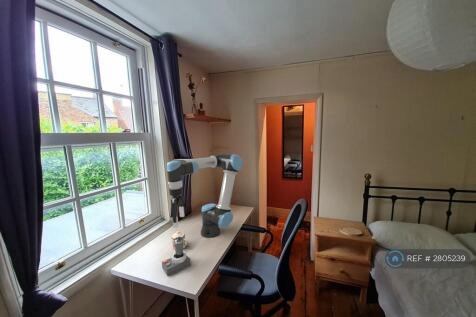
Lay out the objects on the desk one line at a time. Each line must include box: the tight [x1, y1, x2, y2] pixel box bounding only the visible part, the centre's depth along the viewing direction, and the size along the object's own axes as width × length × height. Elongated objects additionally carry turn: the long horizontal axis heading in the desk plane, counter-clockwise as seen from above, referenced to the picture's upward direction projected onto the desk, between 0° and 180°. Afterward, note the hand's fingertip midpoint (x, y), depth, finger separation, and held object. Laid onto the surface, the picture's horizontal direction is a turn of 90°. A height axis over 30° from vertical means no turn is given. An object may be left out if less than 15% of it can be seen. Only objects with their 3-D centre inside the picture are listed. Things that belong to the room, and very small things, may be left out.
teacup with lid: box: [171, 230, 189, 251], centre depth 135 cm, size 12×9×12 cm
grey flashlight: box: [174, 237, 184, 258], centre depth 117 cm, size 5×5×13 cm
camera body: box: [161, 250, 191, 277], centre depth 116 cm, size 14×9×6 cm, turn 129°
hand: (179, 221), depth 116 cm, fingers open, 13 cm apart
